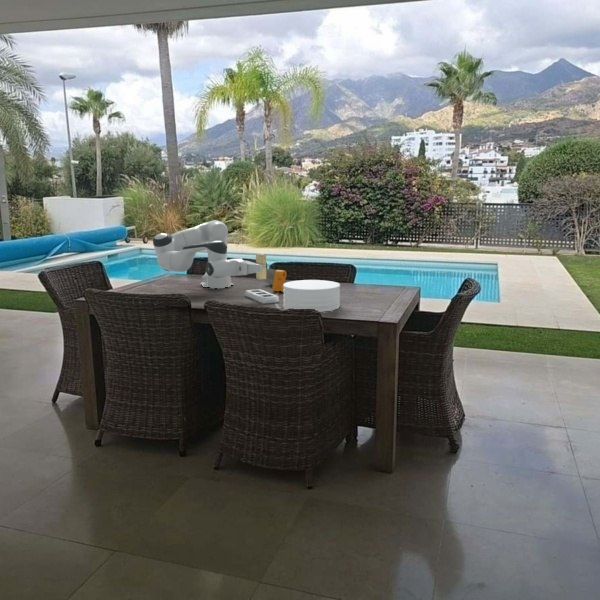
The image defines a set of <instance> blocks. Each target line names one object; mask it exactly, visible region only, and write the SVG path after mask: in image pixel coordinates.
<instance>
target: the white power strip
mask: <svg viewBox="0 0 600 600" xmlns="http://www.w3.org/2000/svg"><path fill="white" fill-rule="evenodd" d="M244 296H245V297H247V298H249V299H251V300H254V301H256V302H258V303H260V304H263V305H264V304H274V303H279V302H280V297H279V296H278V295H276V294H273V293H272V292H271V293H270V292H269V291H266V290H264V289H261V288H258V289H247V290H244Z"/></svg>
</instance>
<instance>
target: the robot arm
mask: <svg viewBox="0 0 600 600" xmlns="http://www.w3.org/2000/svg"><path fill="white" fill-rule="evenodd" d="M228 237H229V229H228V226H227V225H226V223H224V222H222V221H220V220H218V219H217V220H215V219H214V220H210V221H207V222H204V223H201V224H198V225H196V226H193V227H190V228H187V229H186V228H185V229H182V230H180V231H177V232H176V231H175V232H174V233H171V234H170V233H167V232H161V233H157V234H156V235H155V236H154V237H153V238H152V243H153V245H152V246H153V248H154V252H155V255H156V261H157V265H158V266H159V268H161V269H163V271H166V272H167V271H168V272H175V273H176V272H178V273H182V272H186V271H187V270H189V269H191V267H192V266H193V262H194V259H195V256H196V254H197V253H198V252H204V251H206V252H207V262H206V264H205V270H206V271H205V273H204V275H202V277H201V279H202V281H203V282H200V285H201V284H202V286H203V287H210V288H209V289H215V288H217V289H226V288H225V287H228V288H230V287H232V286H231V285H233V286H234V283H232V277H238V276H248V275H249V274H256V273H258V272H261V271H262V268H265V264H261V265H260V264H257V263H256V262H253V261H250V260H243V259H242V258H240V257H239V258H230V259H228ZM202 286H201V287H202ZM203 287H202V288H203Z"/></svg>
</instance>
